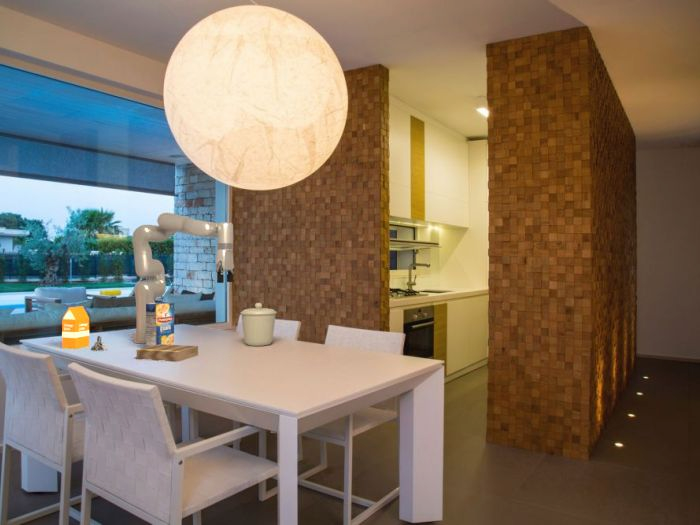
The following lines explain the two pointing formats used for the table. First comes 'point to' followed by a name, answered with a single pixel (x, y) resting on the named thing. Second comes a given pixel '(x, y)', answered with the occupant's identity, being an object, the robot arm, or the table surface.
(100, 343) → the house of cards
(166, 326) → the beverage box
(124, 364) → the table surface
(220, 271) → the robot arm
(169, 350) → the tan flat block
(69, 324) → the orange juice
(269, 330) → the canister
